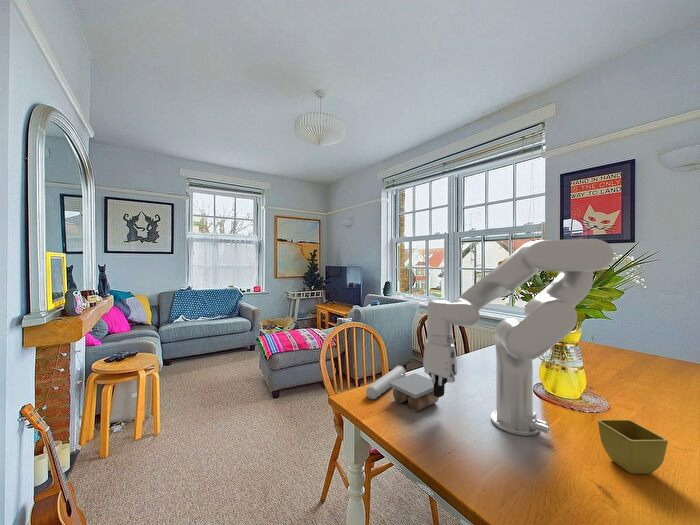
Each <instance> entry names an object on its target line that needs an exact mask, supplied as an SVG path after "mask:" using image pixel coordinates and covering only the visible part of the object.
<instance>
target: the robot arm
mask: <svg viewBox="0 0 700 525" xmlns="http://www.w3.org/2000/svg"><path fill="white" fill-rule="evenodd" d="M614 256H615V254H614V250H613V247H612V246H611V245H610V244H609V243H608V242H607V241H604V240H602V239H598V238H581V239H577V238H576V239H572V238H571V239H541V240H540V239H539V240H534V241H528V242H526V243H523V244H522V245H521V246H520V247H518V248H517V249H516V250H515V251H513V253H511V254H510V255H509V256H508V257H507V258H505V259H504V261H502V262H501V263H500V264H499V265H497V266H495V268H494V269H492V270H491V271H490V272H489V273H488V274H486V275H485V276H483V277H482V278H481V279H479V280H478V281H477V282H476V283H475V284H473V285H471V286H470V287H469V288H468V289H467V290H465V292H463V293H462V294H461V295H460V296H458V297H457V298H456V299H455V300H454V301H453V302H450V301H448V300H444V299H432V300H430V301H428V302H427V324H426V325H427V326H426V328H427V329H426V331H427V332H426V334H427V337H426V338H427V340H426V341H425V344H424V349H423V362H422V363H423V365H422V366H423V369H424V373H426V374H427V375H428V376H429V378H430V379H431V380H432V383H434V396H435V397H436V396H437V397H438V398H441V397H443V396H444V395H445V388H446V387H445V386H446V384H447V383H450V384H451V383H455V382H456V378H455V376H457V374H458V361H457V359H458V358H457V353H456V346H455V344H454V343H455V342H456V339H455V338H453V335H452V334H453V331H452V330H453V325H454V326H460V327H465V328H466V327H467V328H469V327H472V326H475V325H477V323H478V322H479V320H480V316H481V315H480V310H481V309H482V308H484V307H485V306H487V305H488V304H489V303H492V301H495V300H496V299H501V298H504V297H507V296H509V295H511V294H513V293H514V292H515V291H516V290H518V289H519V288H520V287H522V286H523V285H524V284H525V283H526V282H528V281H529V280H530V279H531V278H532V277H534V276H535V275H536V274H538V273H539V271H543V272H558V273H557V276H555V278H554V279H553V280H552V281H551V282H550V283H549V284H548V285H547V286H546V287H545V288H543V289H541V291H539V292H538V293H537V294H536V295H535V296H533V297H532V298H531V299H529V301H528V302H527V303H526V304H525V306H524V315H525V317H524V319H523V320H520V319H518V318H512V317H511V318H504V319H502V320H501V321H499V322H498V323H497V325H496V327H495V330H494V346H495V355H496V357H495V358H496V364H495V366H496V369H495V370H496V372H495V373H496V375H495V376H496V380H495V381H496V382H495V383H496V390H495V391H496V395H495V398H496V401H495V404H496V405H495V406H496V408H495V409H496V410H494V411H492V412H491V414H490V420H491V422H492V423H493V425H494V426H496V427H497V428H498V429H500V430H503V431H505V432H507V433H509V434H513V435H516V436H522V437H523V436H524V437H527V436H528V437H529V436H535V435H537V434H538V433H539V432H542V433H544V434H547V435H548V434H549V431H550V426H548V422H547V421H544V420H542V419H541V420H540V419H539V418H538V417H537V412H536V411H533V410H534V409H533V408H534V407H533V402H534V399H533V394H534V392H533V386H534V385H533V384H534V383H533V381H534V378H533V376H534V368H533V366H534V365H533V360H536V359H538V358H540V357H541V356H543V355H544V354H545V353H547V352H548V351H549V350H551V349H552V348H553V347H554V346H555V345H557V344H558V343H560V341H562V340H564V338H566V336H568V335H569V334H570V333H571V332H572V331H573V330H574V329H575V327H576V324H577V322H578V321H577V320H578V313H577V311H576V309H575V307H576V306H577V305H579V303H580V302H582V301H583V300H584V299H585V298H586V297H587V296H588V295H589V293H590V291H591V290H592V287H593V280H594V272H597V271H601V270H604V269H606V268H608V266H610V265H611V264H612V262H613V261H614V260H613V259H614Z"/></svg>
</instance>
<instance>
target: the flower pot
mask: <svg viewBox="0 0 700 525" xmlns="http://www.w3.org/2000/svg"><path fill="white" fill-rule="evenodd" d="M597 424H598V425H597V426H598V430H599V437H600V441H601V444H602V447H603V448H604V450H605V452H606V454H607V455H608V457H609V458H610V460H611V461H612V462H614V463H615V464H617V465H618V466H620V467H621V468H622V469H624V470H625V471H627V473H629V474H632V475H633V474H635V475H636V474H637V475H638V474H644V475H645V474H650V475H651V474H653V473H654V472H656V471H657V470H659V468H660V467H661V466H662V464H663V462H664V460H665V456H666V453H667V446H668V442H669V440H668V439H667V438H665V437H663V436H662V435H659V434H658V433H656V432H654V431H652V430H650V429H648V428H646V427H644V426H642V425H641V424H639V423H637V422H635V421H633V420H631V419H623V418H622V419H597Z"/></svg>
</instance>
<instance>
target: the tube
mask: <svg viewBox="0 0 700 525" xmlns="http://www.w3.org/2000/svg"><path fill="white" fill-rule="evenodd" d="M405 373H407V370H406V369H405V368H404V366H402V365H398V364H397V365H396V366H395V367H394V368H392V369H391V370H390V371H388V372H387V373H386V374H383V376H380V377H379V378H378V379H376V380H375V381H373V383H371V384H369V386H368V387H366V390H365V393H366V396H367V398H368V399H369V400H370V399H371V400H374V399H375V400H377V397H378V396H379V397H380V396H381V394H382V393H383V394H384V393H385V392H386V390H387V389H388V390H389V389H390V388H391V387H390V386H389V382H391V381H394V380H397V379H400V378H402V377H405V376H407V374H405ZM401 374H403V375H401ZM388 390H387V391H388ZM383 394H382V395H383ZM379 397H378V398H379Z"/></svg>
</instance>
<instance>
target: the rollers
mask: <svg viewBox="0 0 700 525" xmlns="http://www.w3.org/2000/svg"><path fill="white" fill-rule="evenodd" d="M392 395H393V398H394V400H395V402H397V401H398V402H400V403H399V404H402V403H404V402H406V401H407V403H408V406H409V408H410V409H411V410H412V409H413V410H415V411H414V412H419V411H421V410H424V409H425V408H427V407H429V406H431V405H433V404H436V403H437V402H438V401H439V398H440V397H439V398H438V397H437V396H436V397H435V396H434V391H432V392H430V393H427V394H425V395H423V396H421V397H418V398H416V399H415V398H413V397H411V396H409V395H407V394H405V393H403V392H401V391H398V390H396V389H394V388H393V389H392ZM398 402H397V403H398ZM413 410H412V411H413Z"/></svg>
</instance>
